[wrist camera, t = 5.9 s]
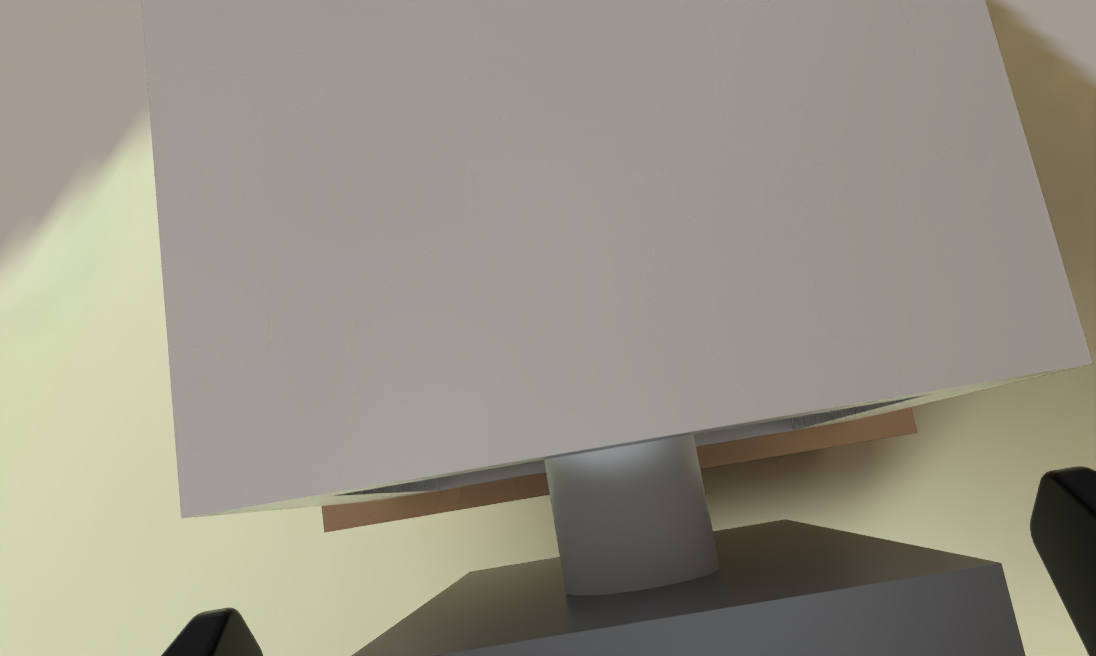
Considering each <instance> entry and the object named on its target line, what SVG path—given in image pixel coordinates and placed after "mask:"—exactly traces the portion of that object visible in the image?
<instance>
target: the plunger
mask: <svg viewBox="0 0 1096 656" xmlns="http://www.w3.org/2000/svg"><path fill="white" fill-rule="evenodd" d="M544 461H545V468H546V474H547V480H548V486H549V492H550V498H551V505H552V511H553V517H554V523H555V529H556V535H557V541H558V548H559V554H560V557H557V558H551V559H545V560H539V561H533V562H527V563H521V564H515V565H509V566H503V567H497V568H491V569H485V570H479V571H473V572H469V573H468V574H467V575H465V576H464V577H462V578H461V579H459V580H458V581H457V582H455V583H454V584H452V585H451V586H450V587H448V588H447V589H445V590H444V591H442V592H441V593H440V594H438V595H437V596H435V597H434V598H433V599H431V600H430V601H428V602H427V603H425V604H424V605H423V606H421V607H420V608H418V609H417V610H416V611H414V612H413V613H411V614H410V615H409V616H407V617H406V618H404V619H403V620H401V621H400V622H399V623H397V624H396V625H394V626H393V627H392V628H390V629H389V630H387V631H386V632H384V633H383V634H382V635H380V636H379V637H377V638H376V639H375V640H373V641H372V642H370V643H369V644H368V645H366V646H365V647H363V648H362V649H360V650H359V651H358V652H356V653H355V654H353V655H352V656H1025V652H1024V648H1023V645H1022V641H1021V637H1020V633H1019V629H1018V625H1017V622H1016V618H1015V614H1014V610H1013V606H1012V603H1011V599H1010V595H1009V591H1008V587H1007V583H1006V580H1005V576H1004V572H1003V568H1002V564H1001V563H999V562H994V561H989V560H984V559H979V558H974V557H969V556H964V555H959V554H954V553H949V552H944V551H939V550H934V549H929V548H924V547H919V546H914V545H909V544H905V543H900V542H895V541H890V540H885V539H880V538H875V537H870V536H865V535H860V534H855V533H850V532H845V531H840V530H835V529H830V528H825V527H820V526H815V525H810V524H805V523H800V522H795V521H790V520H779V521H773V522H767V523H761V524H755V525H749V526H743V527H737V528H731V529H725V530H719V531H713V530H712V525H711V520H710V515H709V510H708V505H707V500H706V495H705V490H704V485H703V480H702V475H701V470H700V465H699V460H698V455H697V450H696V445H695V440H694V435H687V436H681V437H675V438H669V439H664V440H658V441H652V442H646V443H640V444H634V445H628V446H622V447H616V448H610V449H605V450H599V451H593V452H587V453H581V454H575V455H569V456H563V457H557V458H552V459H546V460H544Z"/></svg>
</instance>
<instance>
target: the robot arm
mask: <svg viewBox="0 0 1096 656" xmlns="http://www.w3.org/2000/svg"><path fill="white" fill-rule="evenodd" d="M1030 531H1031V536H1032V539H1033V542H1034V545H1035V547H1036V549H1037V551H1038V553H1039V555H1040V557H1041V559H1042V561H1043V563H1044V565H1045V567H1046V569H1047V571H1048V573H1049V575H1050V577H1051V579H1052V581H1053V583H1054V585H1055V587H1056V589H1057V592H1058V594H1059V596H1060V598H1061V600H1062V602H1063V604H1064V606H1065V608H1066V610H1067V612H1068V614H1069V616H1070V618H1071V620H1072V622H1073V624H1074V626H1075V628H1076V630H1077V632H1078V634H1079V636H1080V638H1081V640H1082V642H1083V644H1084V646H1085V648H1086V650H1087V652H1088V654H1089V656H1096V471H1094V470H1092V469H1090V468H1087V467H1071V468H1065V469H1059V470H1053V471H1049V472H1046V474H1045V475H1044V476H1043V477H1042V478H1041V480H1040V484H1039V488H1038V492H1037V496H1036V500H1035V504H1034V508H1033V512H1032V516H1031V521H1030ZM161 656H263V654H262V651H261V648H260V646H259V645H258V643H257V641H256V640H255V638H254V636H253V635H252V633H251V631H250V629H249V628H248V626H247V624H246V623H245V621H244V619H243V618H242V616H241V614H240V613H239V612H238V611H237V610H235V609H234V608H223V609H217V610H211V611H205V612H202V613H199V614H197V615H196V616H195V617H194V618H192V619H191V620H190V622H189V623H188V624H187V625H186V626H185V628H184V629H183V630H182V631H181V632H180V634H179V635H178V636H177V637H176V638H175V640H174V641H173V642H172V643H171V645H170V646H169V647H168V648H167V649H166V651H165V652H164V653H163V654H162V655H161Z"/></svg>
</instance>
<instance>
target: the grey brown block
mask: <svg viewBox="0 0 1096 656" xmlns="http://www.w3.org/2000/svg"><path fill="white" fill-rule="evenodd" d="M141 4H142V17H143V30H144V41H145V42H144V43H145V56H146V67H147V81H148V93H149V107H150V120H151V133H152V146H153V159H154V172H155V185H156V197H157V210H158V223H159V236H160V249H161V262H162V275H163V288H164V301H165V313H166V326H167V339H168V352H169V365H170V378H171V391H172V404H173V417H174V429H175V442H176V455H177V468H178V481H179V494H180V507H181V518H189V517H201V516H212V515H224V514H235V513H246V512H258V511H269V510H281V509H292V508H303V507H315V506H322V514H323V523H324V532H330V531H336V530H342V529H348V528H353V527H359V526H365V525H371V524H377V523H383V522H389V521H395V520H401V519H407V518H413V517H419V516H425V515H431V514H437V513H443V512H449V511H454V510H460V509H466V508H472V507H478V506H484V505H490V504H496V503H502V502H508V501H514V500H520V499H526V498H532V497H538V496H544V495H550V492H549V486H548V480H547V474H546V468H545V461H544V460H546V459H552V458H557V457H563V456H569V455H575V454H581V453H587V452H593V451H599V450H605V449H610V448H616V447H622V446H628V445H634V444H640V443H646V442H652V441H658V440H664V439H669V438H675V437H681V436H687V435H694V440H695V445H696V450H697V455H698V460H699V465H700V469H704V468H710V467H716V466H722V465H728V464H734V463H740V462H746V461H751V460H757V459H763V458H769V457H775V456H781V455H787V454H793V453H799V452H805V451H811V450H817V449H823V448H829V447H835V446H841V445H847V444H852V443H858V442H864V441H870V440H876V439H882V438H888V437H894V436H900V435H906V434H912V433H917V429H916V425H915V421H914V417H913V413H912V409H911V407H913V406H917V405H921V404H926V403H930V402H934V401H938V400H942V399H946V398H951V397H955V396H959V395H963V394H967V393H972V392H976V391H980V390H984V389H988V388H993V387H997V386H1001V385H1005V384H1009V383H1014V382H1018V381H1022V380H1026V379H1030V378H1034V377H1039V376H1043V375H1047V374H1051V373H1055V372H1060V371H1064V370H1068V369H1072V368H1076V367H1081V366H1085V365H1089V364H1093V362H1092V359H1091V356H1090V352H1089V349H1088V345H1087V342H1086V339H1085V335H1084V332H1083V329H1082V325H1081V322H1080V318H1079V315H1078V312H1077V308H1076V305H1075V302H1074V298H1073V295H1072V291H1071V288H1070V285H1069V281H1068V278H1067V274H1066V271H1065V268H1064V264H1063V261H1062V258H1061V254H1060V251H1059V247H1058V244H1057V241H1056V237H1055V234H1054V231H1053V227H1052V224H1051V220H1050V217H1049V214H1048V210H1047V207H1046V203H1045V200H1044V197H1043V193H1042V190H1041V187H1040V183H1039V180H1038V176H1037V173H1036V170H1035V166H1034V163H1033V160H1032V156H1031V153H1030V149H1029V146H1028V143H1027V139H1026V136H1025V133H1024V129H1023V126H1022V122H1021V119H1020V116H1019V112H1018V109H1017V105H1016V102H1015V99H1014V95H1013V92H1012V89H1011V85H1010V82H1009V78H1008V75H1007V72H1006V68H1005V65H1004V62H1003V58H1002V55H1001V51H1000V48H999V45H998V41H997V38H996V34H995V31H994V28H993V24H992V21H991V18H990V14H989V11H988V7H987V4H986V1H985V0H141Z"/></svg>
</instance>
